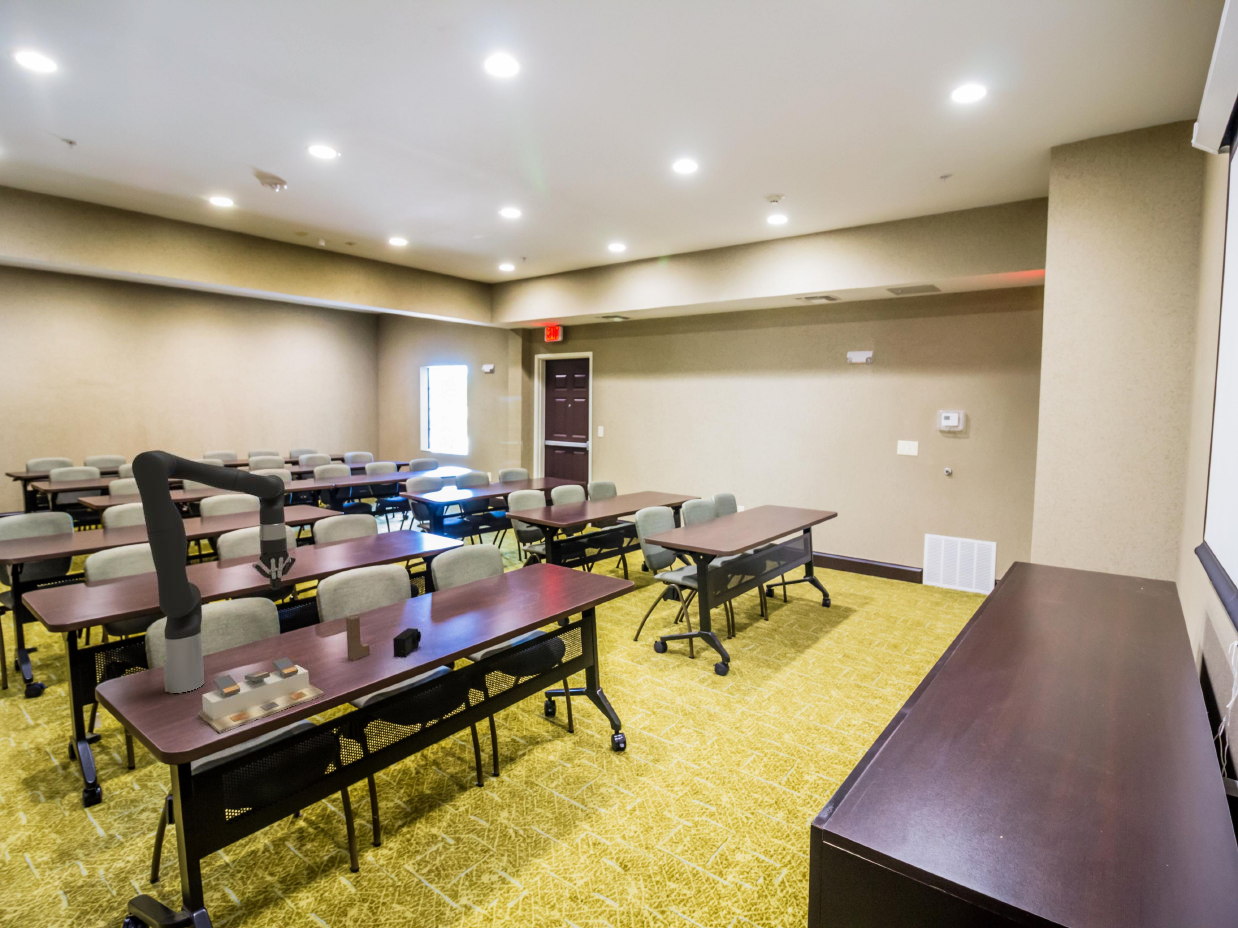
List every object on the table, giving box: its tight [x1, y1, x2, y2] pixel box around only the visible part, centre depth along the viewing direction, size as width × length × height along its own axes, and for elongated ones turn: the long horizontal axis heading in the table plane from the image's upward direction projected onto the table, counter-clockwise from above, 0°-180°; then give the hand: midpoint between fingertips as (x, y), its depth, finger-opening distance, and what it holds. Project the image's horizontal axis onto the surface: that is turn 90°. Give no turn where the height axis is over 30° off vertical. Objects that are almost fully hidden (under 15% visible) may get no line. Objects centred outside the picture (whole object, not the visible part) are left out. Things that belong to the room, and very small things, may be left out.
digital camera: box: [392, 627, 422, 659], centre depth 216 cm, size 10×5×7 cm, turn 172°
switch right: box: [272, 656, 298, 677], centre depth 185 cm, size 4×8×1 cm, turn 52°
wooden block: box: [345, 614, 371, 662], centre depth 212 cm, size 7×3×15 cm, turn 145°
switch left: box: [213, 674, 240, 697], centre depth 172 cm, size 4×8×1 cm, turn 52°
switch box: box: [201, 664, 310, 720], centre depth 179 cm, size 26×8×6 cm, turn 142°
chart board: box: [198, 683, 325, 734], centre depth 177 cm, size 28×16×1 cm, turn 142°
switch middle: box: [244, 670, 271, 681], centre depth 179 cm, size 4×8×1 cm, turn 52°
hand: (276, 589), depth 196 cm, fingers closed
